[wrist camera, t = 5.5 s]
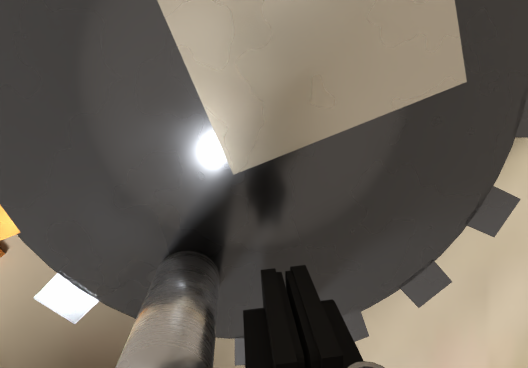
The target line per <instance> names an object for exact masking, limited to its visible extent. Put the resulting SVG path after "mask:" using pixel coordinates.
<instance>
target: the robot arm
mask: <svg viewBox="0 0 528 368" xmlns="http://www.w3.org/2000/svg"><path fill="white" fill-rule="evenodd" d="M285 281H286V287H285V283H284V279H283V275H282V272H276V269H275V268H273V269H264V270H261V284H262V297H263V308H257V309H249V310H243V323H244V346H245V368H384V367H383V366H381V365H378V364H376V363H373V362H366V361H363V359H362V357H361V355H360V353H359V351H358V348H357V346H356V344H355V342H354V340H353V338H352V336H351V334H350V332H349V330H348V328H347V326H346V324H345V322H344V320H343V317H342V315H341V313H340V311H339V309H338V307H337V305H336V303H335V301H334V300H333V299H331V300H323V301H320V298H319V296H318V294H317V291H316V289H315V286H314V284H313V282H312V279H311V277H310V274H309V272H308V270H307V267H306V265H299V266H291V267H290V271H285Z"/></svg>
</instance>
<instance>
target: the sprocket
mask: <svg viewBox="0 0 528 368" xmlns="http://www.w3.org/2000/svg"><path fill="white" fill-rule="evenodd" d="M515 137H528V0H0V240H3V239H5V238H8V237H10V236H13V235H15V234H17V235H18V236H19V237H20V238H21V240H22V241H23V242H24V243H25V244H26V245H27V246H28V247H29V248H30V249H31V250H33V251H34V252H35V253H36V254H37V255H38V256H39V257H40V258H41V259H42V260H43V261H44V262H45V263H46V264H47V265H48V266H49V267H51V268H52V269H53V270H54V271H56V272H57V274H56V275H55V276H54V277H53V278H52V279H51V280H50V281H49V282H48V283H47V284H46V285H45V286H44V287H43V288H42V289H41V290H40V291H39V293H38V294H37V295H36V296H35V297H34V299H35V300H37V301H39V302H40V303H42V304H43V305H45V306H46V307H48V308H50V309H51V310H53V311H54V312H56V313H58V314H59V315H61V316H62V317H64V318H65V319H67V320H69V321H70V322H72V323H73V324H76V323H77V322H78V321H79V320H80V319H81V318H82V317H83V316H84V315H85V314H86V313H87V312H88V311H89V310H90V309H91V308H92V307H93V306H94V305H95V304H96V303H98V302H99V301H100V302H102V303H104V304H105V305H107V306H109V307H111V308H114V309H116V310H118V311H120V312H122V313H125V314H127V315H129V316H131V317H133V318H136V320H135V323H134V325H133V327H132V330H131V332H130V334H129V337H128V339H127V341H126V344H125V346H124V348H123V351H122V353H121V355H120V358H119V360H118V362H117V365H116V367H115V368H213V361H214V348H215V337H218V338H235V365H245V346H244V323H243V310H249V309H257V308H263V297H262V284H261V270H264V269H273V268H275V269H276V272H282V275H283V279H284V283H285V287H286V281H285V271H290V267H291V266H299V265H306V267H307V270H308V272H309V274H310V277H311V279H312V282H313V284H314V286H315V289H316V291H317V294H318V296H319V298H320V301H323V300H331V299H333V300H334V301H335V303H336V305H337V307H338V309H339V311H340V313H341V315H342V317H343V320H344V322H345V324H346V326H347V328H348V330H349V332H350V334H351V336H352V338H353V340H354V342H355V341H358V340H361V339H363V338H366V337H368V336H369V334H368V331H367V329H366V326H365V323H364V320H363V317H362V314H361V311H363V310H365V309H367V308H369V307H371V306H373V305H374V304H376V303H378V302H380V301H381V300H383V299H385V298H386V297H388V296H390V295H392V294H393V293H395V292H396V291H398V290H399V289H401V290H402V291H403V292H404V293H405V294H406V295H407V296H408V297H409V298H410V299H411V300H412V301H413V302H414V303H415V305H416V306H417V307H418V308H419V307H421V306H422V305H423V304H425V303H426V302H427V301H428V300H430V299H431V298H432V297H433V296H435V295H436V294H437V293H439V292H440V291H441V290H442V289H444V288H445V287H446V286H448V285H449V284H450V283H451V282H452V281H451V280H450V279H449V277H448V276H447V275H446V274H445V273H444V272H443V271H442V269H441V268H440V267H439V266H438V265H437V264H436V263H435V260H436V259H437V258H438V257H440V256H441V255H442V253H443V252H444V251H445V250H446V249H447V248H448V247H449V246H450V245H451V244H452V243H453V241H454V240H455V239H456V238H457V237H458V236H459V235H460V234H461V233H462V231H463V230H464V229H465V227H466V226H469V227H472V228H474V229H476V230H479V231H481V232H483V233H485V234H488V235H490V236H492V237H495V235H496V234H497V233H498V231H499V230H500V228H501V227H502V225H503V224H504V222H505V221H506V220H507V218H508V217H509V215H510V214H511V212H512V211H513V209H514V208H515V207H516V205H517V204H518V202H519V201H520V199H519V198H517V197H515V196H513V195H511V194H509V193H507V192H505V191H503V190H501V189H499V188H496V187H494V186H493V185H494V183H495V182H496V180H497V178H498V176H499V174H500V172H501V169H502V167H503V165H504V163H505V161H506V159H507V156H508V154H509V152H510V150H511V148H512V145H513V142H514V139H515Z"/></svg>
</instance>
